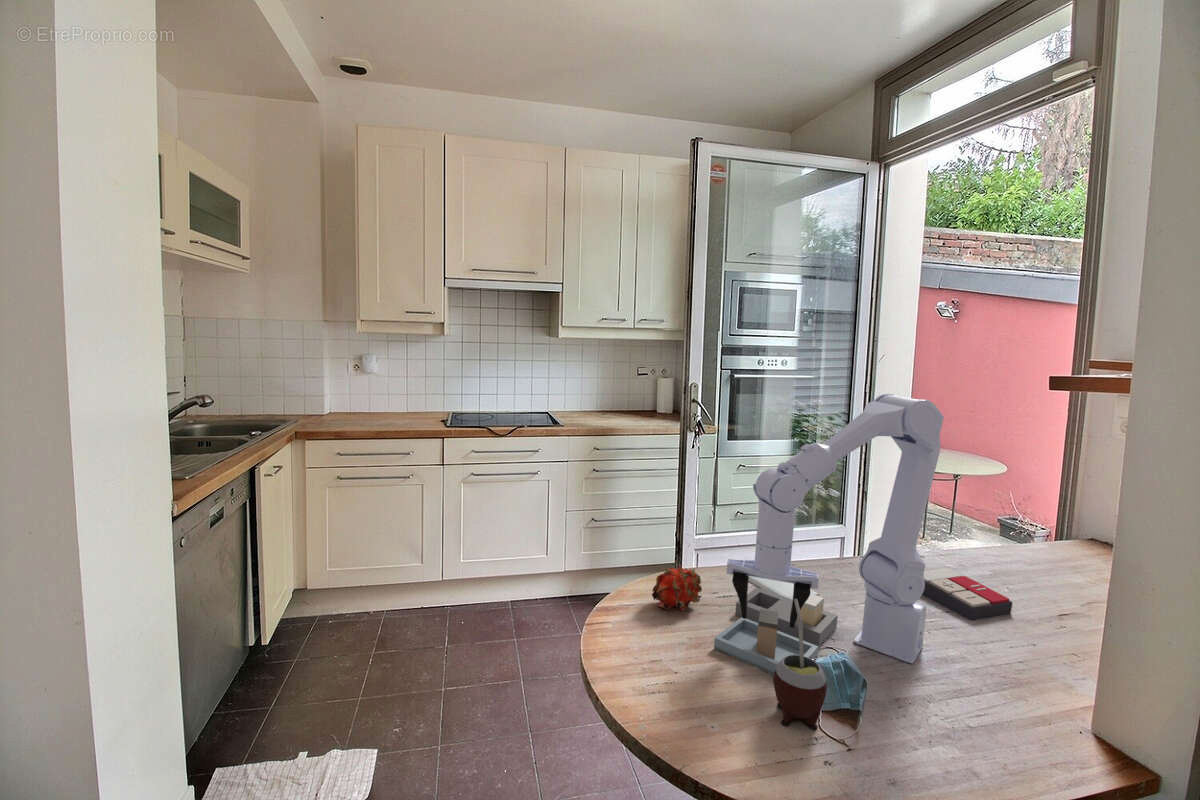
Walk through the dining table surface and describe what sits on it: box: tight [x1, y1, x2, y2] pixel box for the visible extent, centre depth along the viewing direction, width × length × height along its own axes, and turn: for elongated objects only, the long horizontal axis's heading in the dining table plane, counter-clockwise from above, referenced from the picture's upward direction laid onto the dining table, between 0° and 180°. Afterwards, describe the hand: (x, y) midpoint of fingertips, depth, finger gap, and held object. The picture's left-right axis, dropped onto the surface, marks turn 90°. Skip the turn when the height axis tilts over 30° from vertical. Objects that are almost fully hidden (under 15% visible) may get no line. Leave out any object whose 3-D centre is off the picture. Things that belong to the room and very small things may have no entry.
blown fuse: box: [756, 609, 778, 659], centre depth 97 cm, size 3×4×6 cm, turn 162°
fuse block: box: [735, 586, 838, 648], centre depth 108 cm, size 16×9×2 cm, turn 49°
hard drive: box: [748, 576, 820, 600], centre depth 122 cm, size 2×8×12 cm
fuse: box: [797, 593, 825, 627], centre depth 105 cm, size 3×4×6 cm, turn 140°
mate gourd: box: [772, 599, 828, 732], centre depth 81 cm, size 8×8×15 cm
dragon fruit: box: [651, 564, 703, 612], centre depth 112 cm, size 8×8×12 cm
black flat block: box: [921, 567, 1013, 622], centre depth 120 cm, size 11×4×15 cm
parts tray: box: [713, 617, 819, 676], centre depth 97 cm, size 14×10×2 cm
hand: (767, 620), depth 96 cm, fingers open, 7 cm apart
